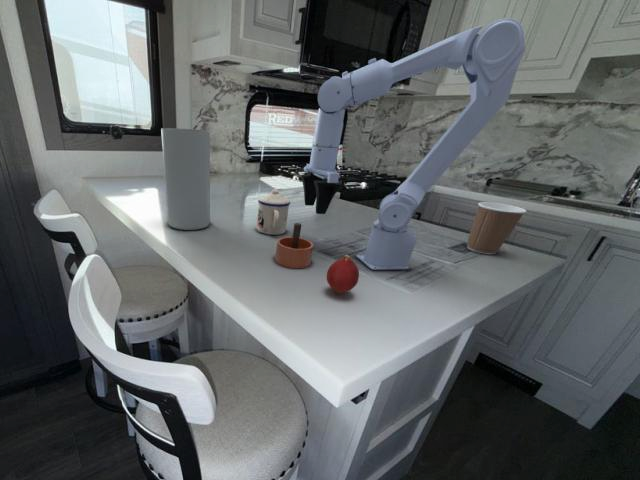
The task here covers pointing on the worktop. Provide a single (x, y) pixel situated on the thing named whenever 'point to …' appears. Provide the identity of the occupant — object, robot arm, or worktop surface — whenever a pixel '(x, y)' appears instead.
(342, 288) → the onion
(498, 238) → the coffee cup
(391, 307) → the worktop surface
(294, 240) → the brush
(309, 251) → the terracotta bowl
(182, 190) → the cylinder vase
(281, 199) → the teacup with lid
